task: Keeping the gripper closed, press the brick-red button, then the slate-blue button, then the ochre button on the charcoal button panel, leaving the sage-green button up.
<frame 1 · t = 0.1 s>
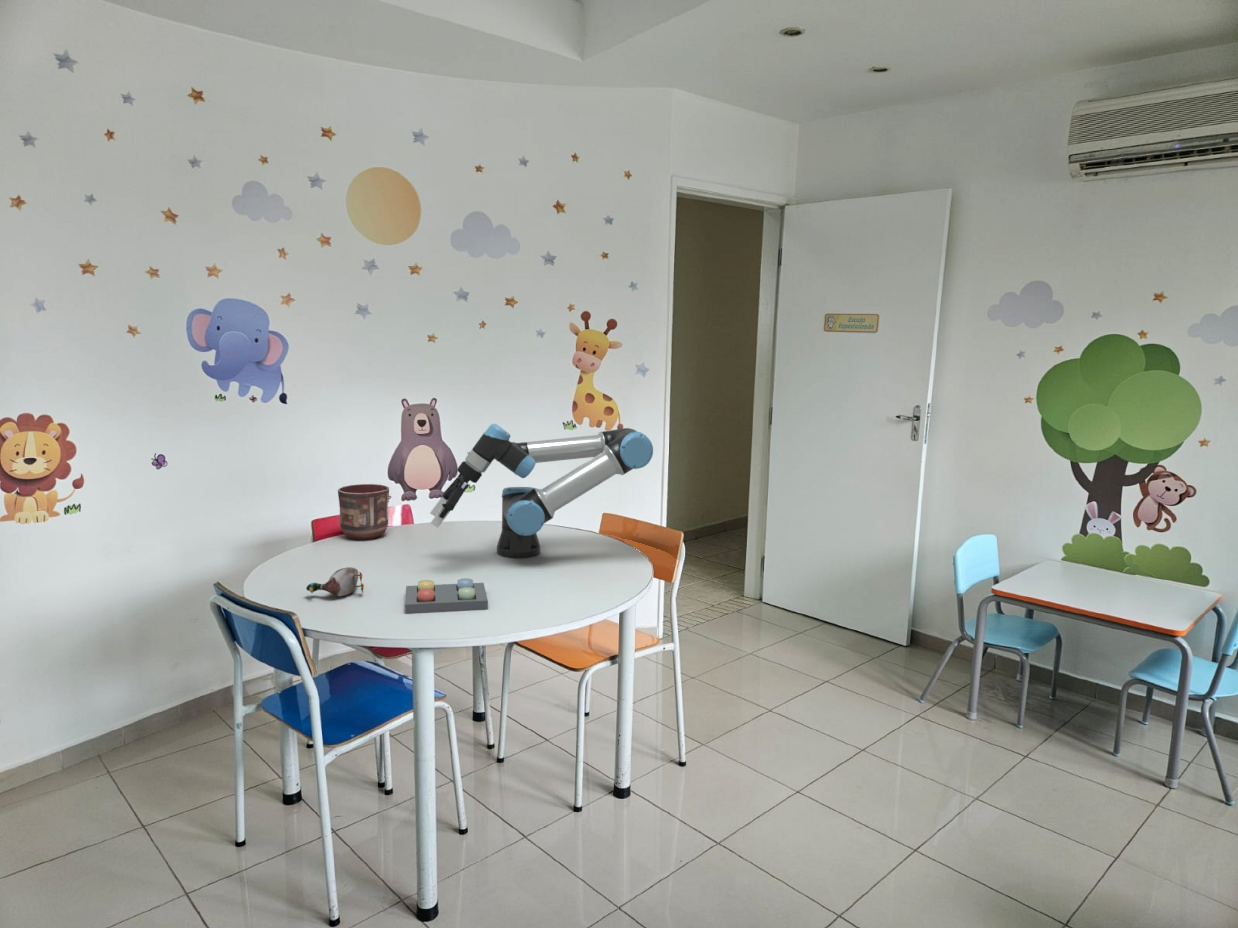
hand: (433, 520, 251), 15 cm above the table, fingers open, 13 cm apart
pottery: (364, 536, 287), on the table
ochre button: (425, 587, 223), point 3 cm above the table, slide at 0.0 cm
slate button: (465, 586, 225), point 3 cm above the table, slide at 0.0 cm
decorative duck model: (338, 593, 225), on the table
red button: (426, 597, 215), point 3 cm above the table, slide at 0.0 cm
button panel: (446, 601, 221), on the table
sage button: (466, 595, 218), point 3 cm above the table, slide at 0.0 cm
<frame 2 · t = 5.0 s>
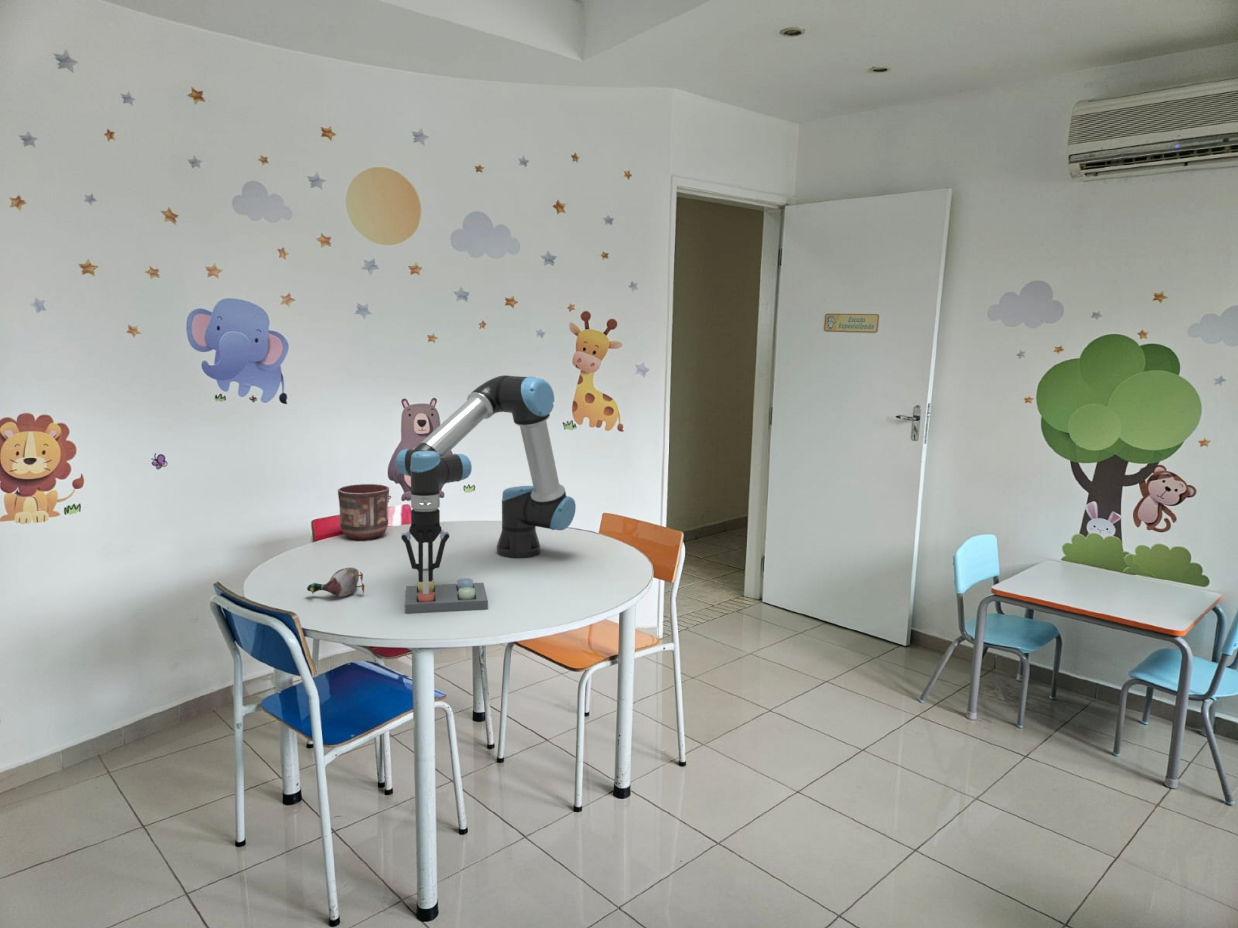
hand: (425, 592, 215), 4 cm above the table, fingers closed
red button: (426, 599, 215), point 2 cm above the table, slide at 0.6 cm, touching gripper
everything else where it was.
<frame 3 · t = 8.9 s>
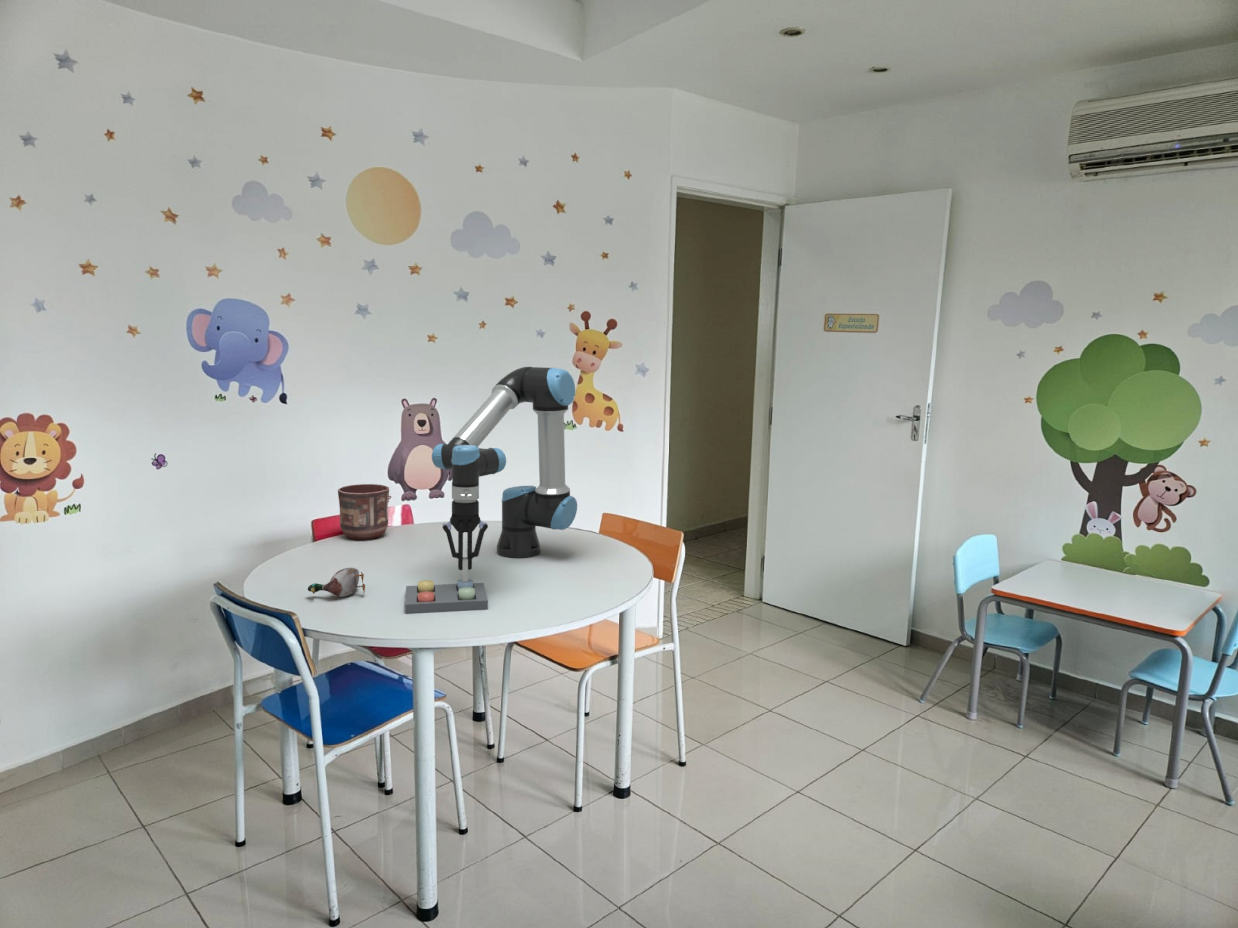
hand: (464, 580, 225), 5 cm above the table, fingers closed
slate button: (465, 586, 225), point 3 cm above the table, slide at 0.1 cm, touching gripper
red button: (426, 599, 215), point 2 cm above the table, slide at 0.7 cm
everything else where it was.
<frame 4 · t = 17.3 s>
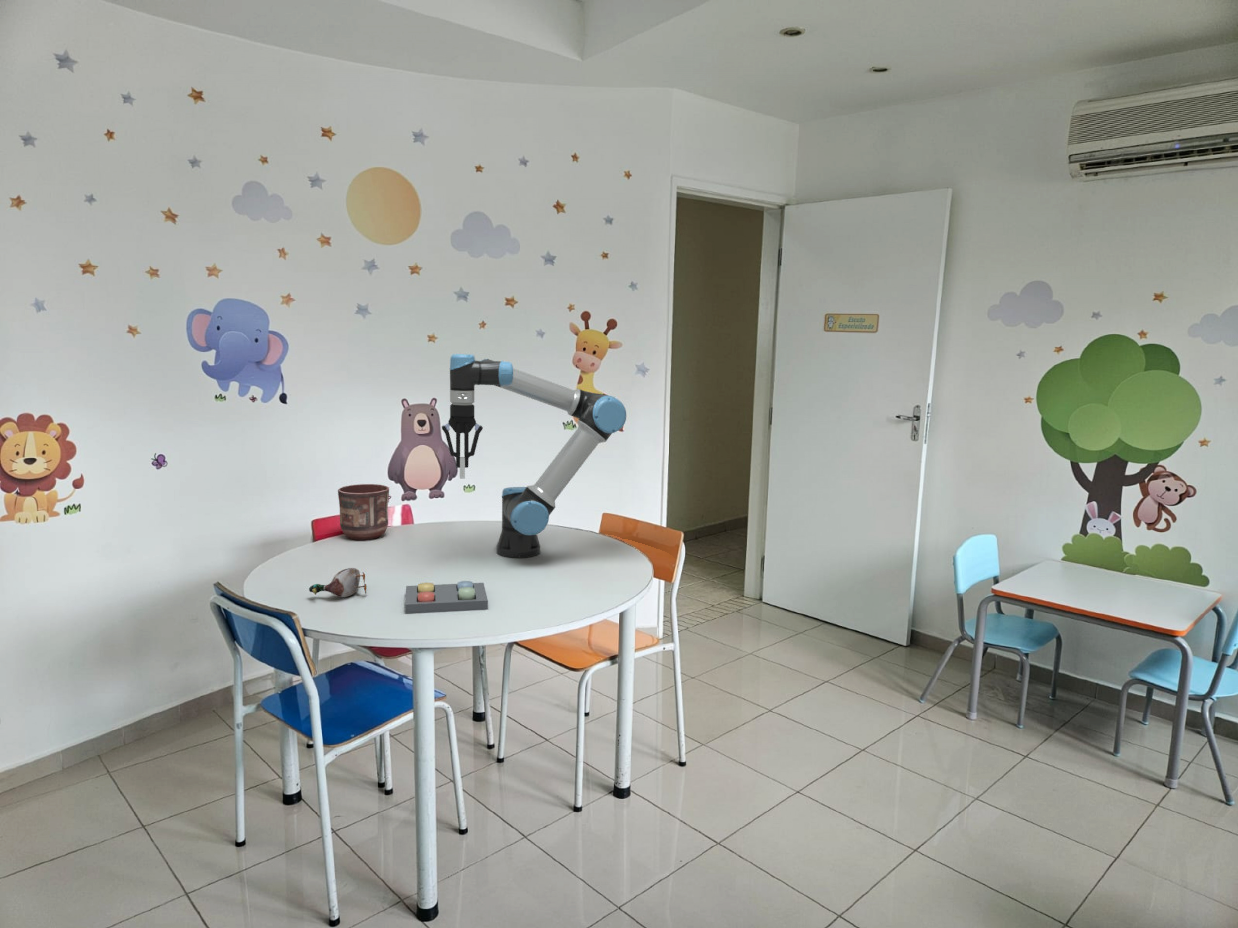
hand: (462, 477, 249), 29 cm above the table, fingers closed
ochre button: (425, 590, 223), point 2 cm above the table, slide at 0.7 cm
slate button: (465, 588, 225), point 2 cm above the table, slide at 0.8 cm
at the end: red button slide at 0.7 cm; slate button slide at 0.8 cm; ochre button slide at 0.7 cm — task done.
